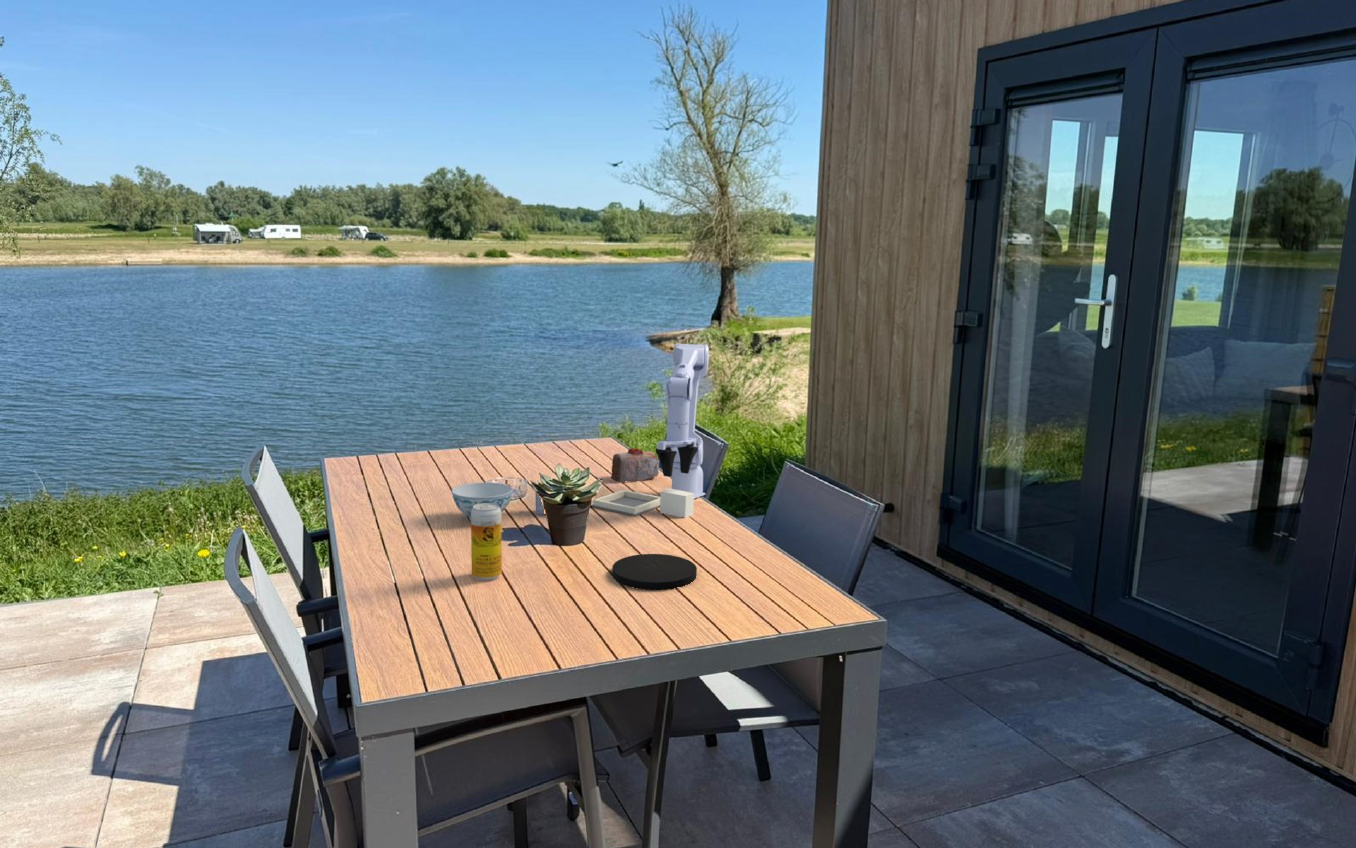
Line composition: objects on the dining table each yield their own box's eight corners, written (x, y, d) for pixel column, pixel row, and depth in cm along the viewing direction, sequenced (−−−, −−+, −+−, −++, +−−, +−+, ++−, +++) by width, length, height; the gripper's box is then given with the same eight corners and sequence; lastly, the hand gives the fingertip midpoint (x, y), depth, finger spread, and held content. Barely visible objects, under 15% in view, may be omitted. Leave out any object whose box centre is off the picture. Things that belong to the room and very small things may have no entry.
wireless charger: (679, 597, 171) (679, 587, 170) (598, 584, 176) (598, 574, 176) (707, 569, 187) (707, 560, 187) (632, 558, 193) (632, 549, 193)
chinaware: (439, 522, 214) (439, 492, 213) (475, 508, 228) (475, 480, 227) (490, 530, 209) (490, 500, 208) (524, 515, 223) (523, 486, 221)
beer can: (476, 583, 174) (475, 511, 171) (468, 573, 179) (467, 504, 177) (505, 579, 177) (504, 508, 174) (497, 570, 182) (496, 501, 179)
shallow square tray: (623, 495, 245) (623, 489, 245) (667, 504, 237) (667, 497, 237) (590, 506, 233) (590, 500, 232) (635, 516, 224) (635, 509, 224)
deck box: (668, 509, 232) (668, 488, 231) (693, 515, 228) (694, 493, 227) (659, 513, 229) (660, 491, 228) (685, 518, 224) (685, 496, 223)
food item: (648, 474, 272) (648, 444, 270) (660, 480, 265) (661, 448, 263) (609, 479, 265) (609, 447, 263) (621, 484, 258) (621, 452, 256)
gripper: (673, 426, 217) (671, 479, 218) (706, 423, 228) (704, 473, 230) (651, 423, 221) (649, 476, 222) (685, 420, 232) (683, 470, 234)
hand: (676, 474), depth 226 cm, fingers open, 7 cm apart
